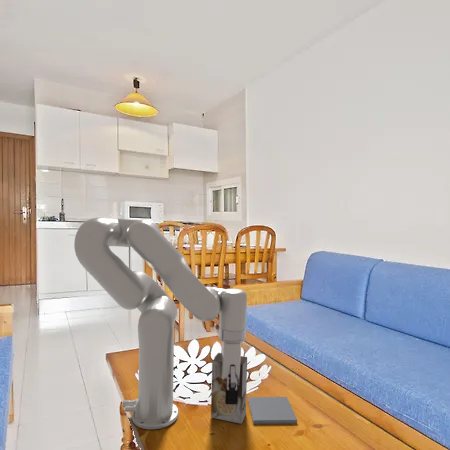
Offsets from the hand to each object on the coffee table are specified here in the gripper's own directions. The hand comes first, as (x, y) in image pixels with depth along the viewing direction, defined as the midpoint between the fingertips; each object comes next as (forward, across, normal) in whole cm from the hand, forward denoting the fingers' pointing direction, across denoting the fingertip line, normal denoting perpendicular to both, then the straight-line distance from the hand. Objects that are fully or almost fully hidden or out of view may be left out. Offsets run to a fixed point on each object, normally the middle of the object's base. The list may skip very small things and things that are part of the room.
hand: (230, 395), depth 94 cm
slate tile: (+6, -2, +12) cm, 14 cm away
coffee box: (+6, 0, 0) cm, 6 cm away
